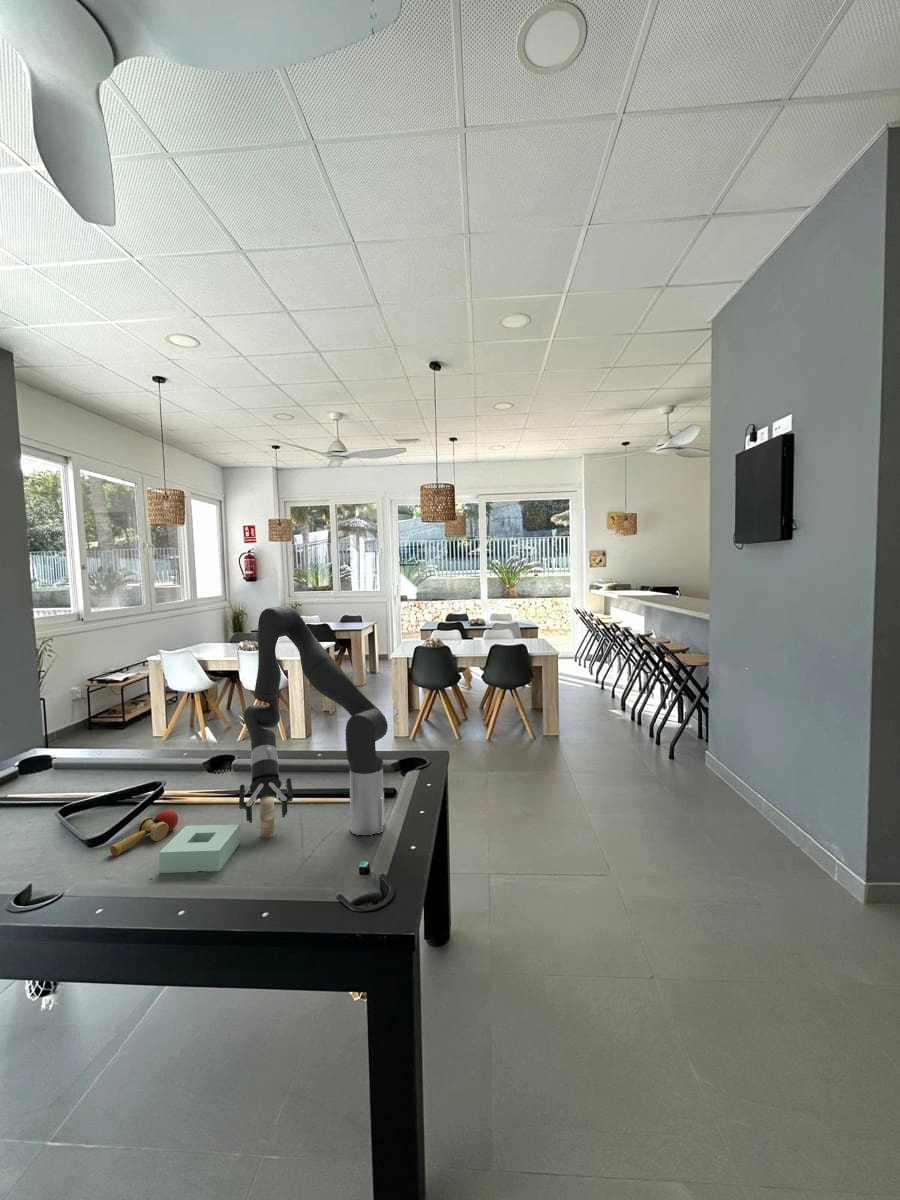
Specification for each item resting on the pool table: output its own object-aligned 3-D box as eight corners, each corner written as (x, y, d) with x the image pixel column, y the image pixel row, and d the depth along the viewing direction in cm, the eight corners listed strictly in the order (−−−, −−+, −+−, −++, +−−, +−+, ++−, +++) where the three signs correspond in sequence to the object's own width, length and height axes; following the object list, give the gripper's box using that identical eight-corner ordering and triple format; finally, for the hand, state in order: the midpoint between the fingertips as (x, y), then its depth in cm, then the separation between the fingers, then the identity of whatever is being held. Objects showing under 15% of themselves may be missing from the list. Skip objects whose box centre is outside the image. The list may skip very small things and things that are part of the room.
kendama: (127, 864, 130) (187, 825, 147) (121, 841, 130) (181, 804, 146) (108, 864, 133) (168, 825, 150) (101, 841, 133) (163, 804, 149)
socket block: (240, 842, 138) (239, 824, 138) (219, 871, 124) (219, 850, 124) (186, 844, 137) (186, 825, 137) (159, 873, 123) (159, 852, 123)
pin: (275, 832, 144) (275, 796, 144) (272, 838, 141) (271, 801, 141) (262, 832, 144) (262, 796, 144) (258, 838, 141) (258, 802, 140)
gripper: (238, 761, 147) (239, 817, 136) (290, 755, 152) (295, 808, 142) (238, 774, 152) (239, 829, 141) (289, 767, 157) (293, 820, 147)
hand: (267, 819), depth 141 cm, fingers open, 8 cm apart
